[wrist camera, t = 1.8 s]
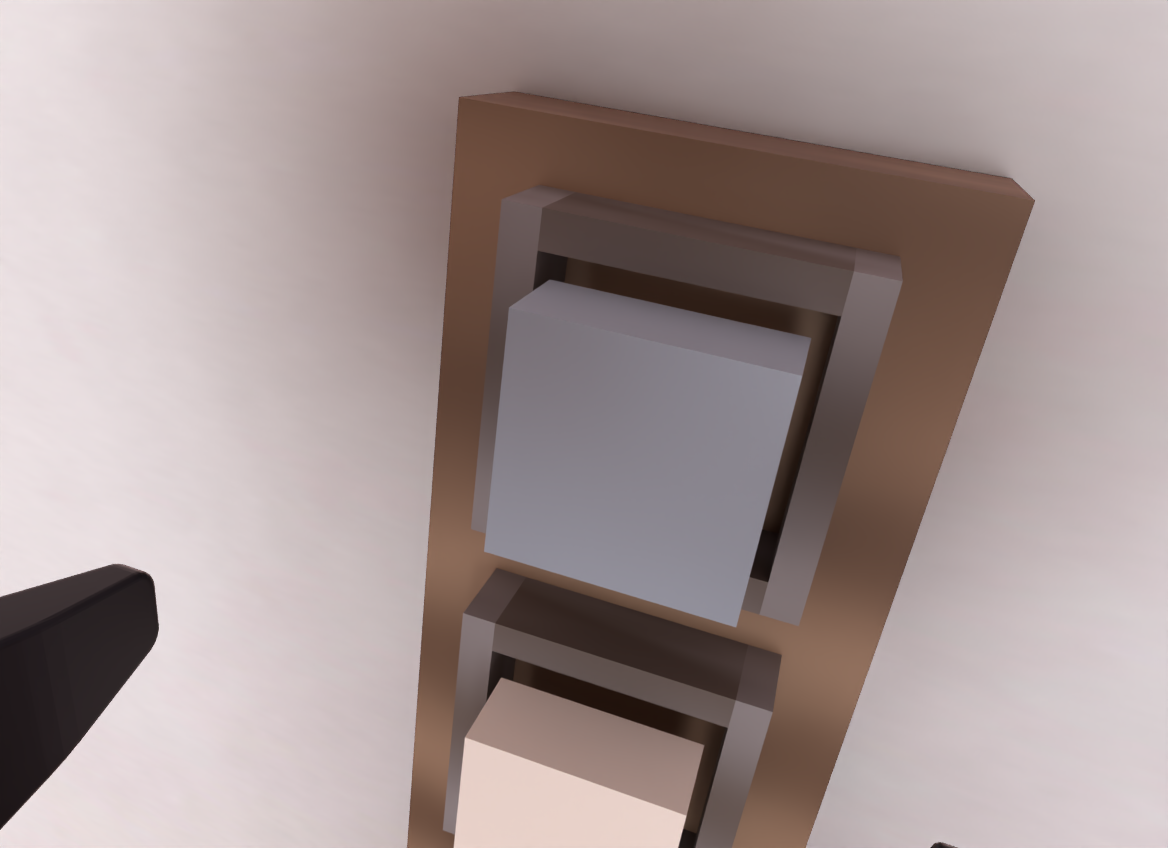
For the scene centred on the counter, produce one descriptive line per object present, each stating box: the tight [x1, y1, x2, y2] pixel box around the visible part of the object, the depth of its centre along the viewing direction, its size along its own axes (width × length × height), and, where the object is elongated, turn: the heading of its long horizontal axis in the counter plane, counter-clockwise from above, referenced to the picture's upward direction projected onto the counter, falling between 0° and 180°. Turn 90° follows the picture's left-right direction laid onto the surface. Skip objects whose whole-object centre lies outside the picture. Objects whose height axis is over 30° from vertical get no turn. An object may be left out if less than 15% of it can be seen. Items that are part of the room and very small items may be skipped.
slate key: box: [484, 280, 811, 627], centre depth 16 cm, size 5×5×2 cm
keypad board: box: [407, 92, 1035, 848], centre depth 23 cm, size 29×11×5 cm, turn 172°
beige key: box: [454, 678, 704, 848], centre depth 20 cm, size 5×5×2 cm
